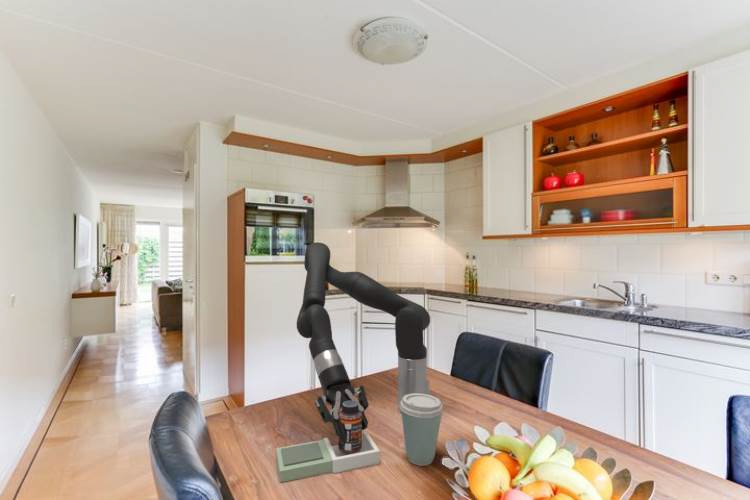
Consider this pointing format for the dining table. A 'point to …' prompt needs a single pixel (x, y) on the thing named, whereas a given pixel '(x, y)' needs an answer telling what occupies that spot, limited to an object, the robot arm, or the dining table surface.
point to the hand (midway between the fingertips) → (353, 432)
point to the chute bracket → (354, 455)
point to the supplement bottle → (350, 428)
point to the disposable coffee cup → (421, 426)
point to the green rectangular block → (303, 460)
